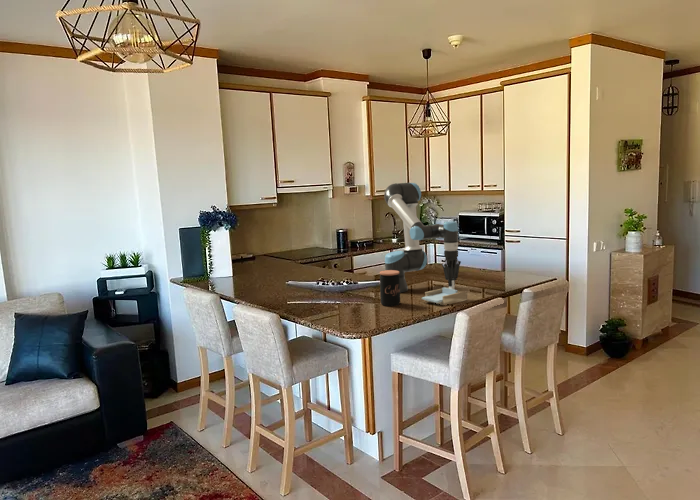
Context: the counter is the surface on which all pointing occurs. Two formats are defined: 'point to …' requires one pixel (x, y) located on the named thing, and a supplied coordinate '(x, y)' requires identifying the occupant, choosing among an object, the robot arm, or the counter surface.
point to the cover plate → (440, 295)
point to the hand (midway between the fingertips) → (451, 291)
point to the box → (448, 297)
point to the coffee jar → (390, 287)
